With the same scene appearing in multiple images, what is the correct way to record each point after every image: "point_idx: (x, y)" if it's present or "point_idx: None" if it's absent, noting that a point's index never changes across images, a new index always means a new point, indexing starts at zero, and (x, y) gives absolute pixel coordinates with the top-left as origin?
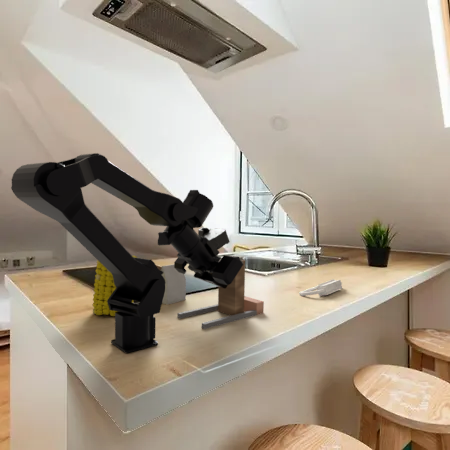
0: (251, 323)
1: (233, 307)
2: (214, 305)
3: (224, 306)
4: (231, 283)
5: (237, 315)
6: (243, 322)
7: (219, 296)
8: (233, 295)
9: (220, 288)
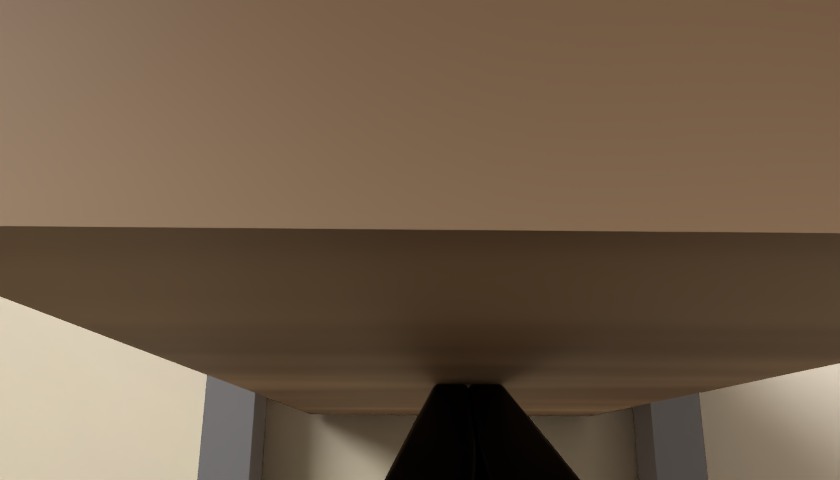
0: (821, 408)
1: (589, 410)
2: (226, 403)
3: (419, 409)
4: (636, 382)
5: (701, 465)
6: (754, 450)
7: (304, 401)
8: (630, 399)
9: (308, 393)
